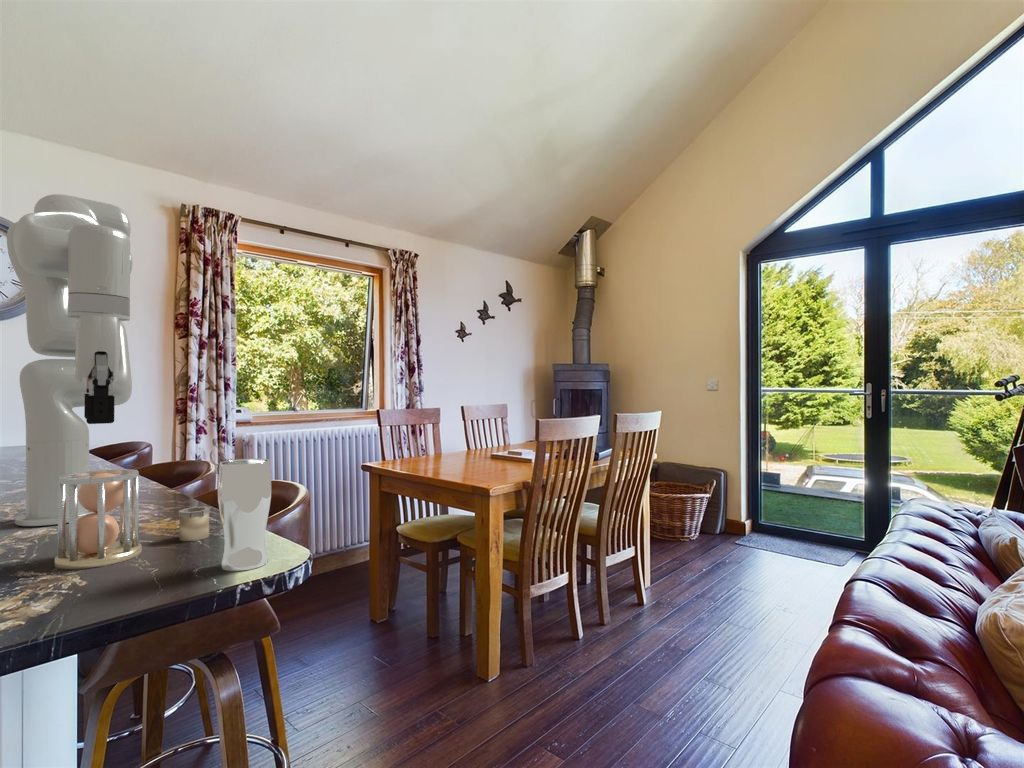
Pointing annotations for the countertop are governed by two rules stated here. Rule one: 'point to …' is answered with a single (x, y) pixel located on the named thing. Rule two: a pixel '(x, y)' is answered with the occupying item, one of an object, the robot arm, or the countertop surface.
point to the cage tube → (98, 521)
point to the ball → (95, 533)
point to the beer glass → (244, 512)
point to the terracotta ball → (112, 494)
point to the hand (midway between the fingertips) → (98, 420)
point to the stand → (194, 523)
